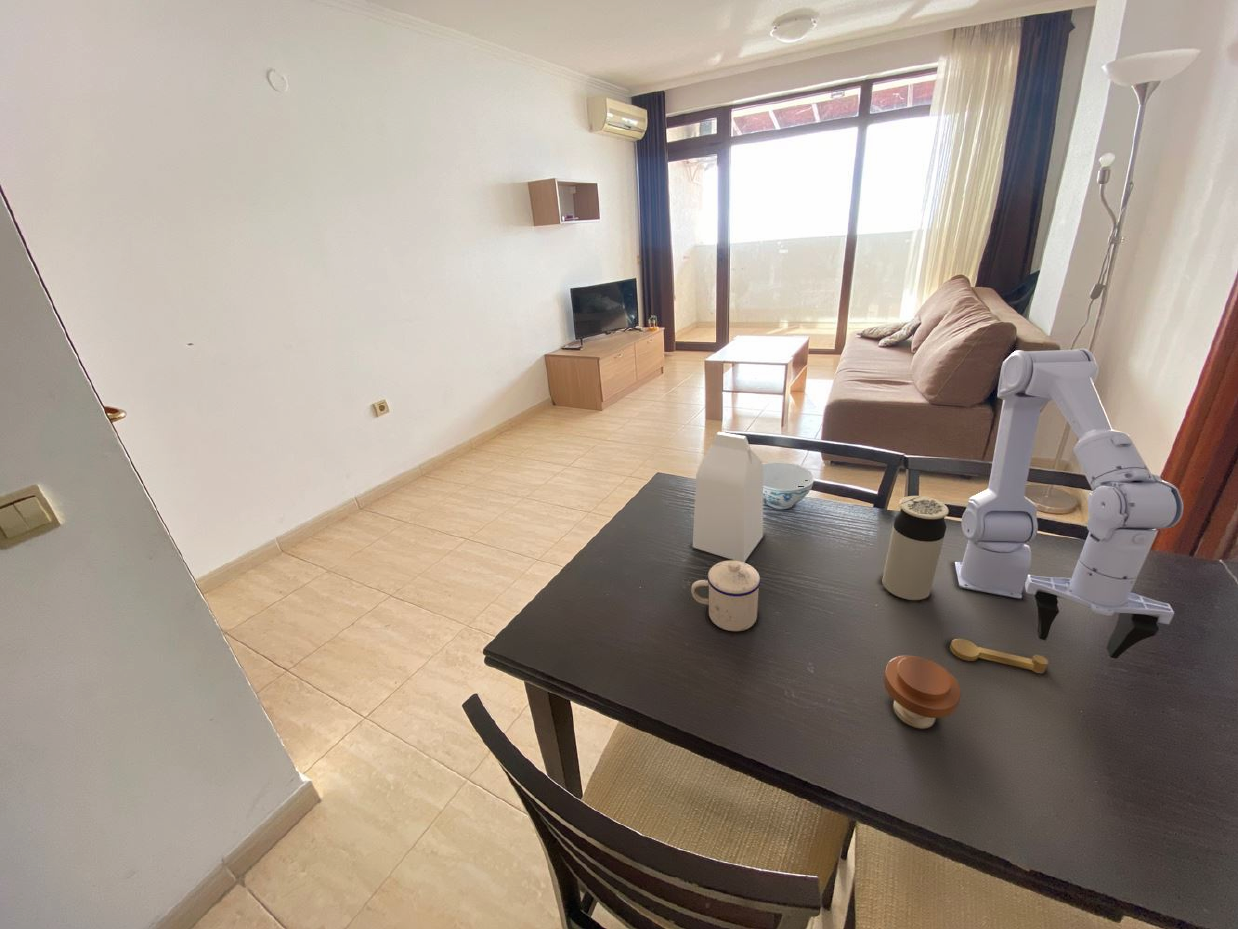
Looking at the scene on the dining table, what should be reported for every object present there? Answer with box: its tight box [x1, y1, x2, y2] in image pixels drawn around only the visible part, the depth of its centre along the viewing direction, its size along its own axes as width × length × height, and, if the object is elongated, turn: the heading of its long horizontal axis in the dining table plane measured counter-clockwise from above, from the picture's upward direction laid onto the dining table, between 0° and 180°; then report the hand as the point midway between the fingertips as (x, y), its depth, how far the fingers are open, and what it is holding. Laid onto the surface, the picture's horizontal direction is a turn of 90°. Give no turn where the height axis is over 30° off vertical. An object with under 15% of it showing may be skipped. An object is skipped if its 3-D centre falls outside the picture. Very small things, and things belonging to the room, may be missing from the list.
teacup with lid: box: [690, 559, 761, 632], centre depth 89 cm, size 12×9×12 cm
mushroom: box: [883, 654, 962, 729], centre depth 70 cm, size 9×9×8 cm
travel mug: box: [881, 495, 950, 601], centre depth 91 cm, size 8×8×18 cm
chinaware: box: [762, 461, 815, 510], centre depth 124 cm, size 15×15×8 cm
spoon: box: [949, 638, 1049, 674], centre depth 78 cm, size 12×4×2 cm, turn 65°
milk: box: [692, 431, 764, 563], centre depth 107 cm, size 12×12×26 cm
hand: (1075, 644), depth 71 cm, fingers open, 7 cm apart
